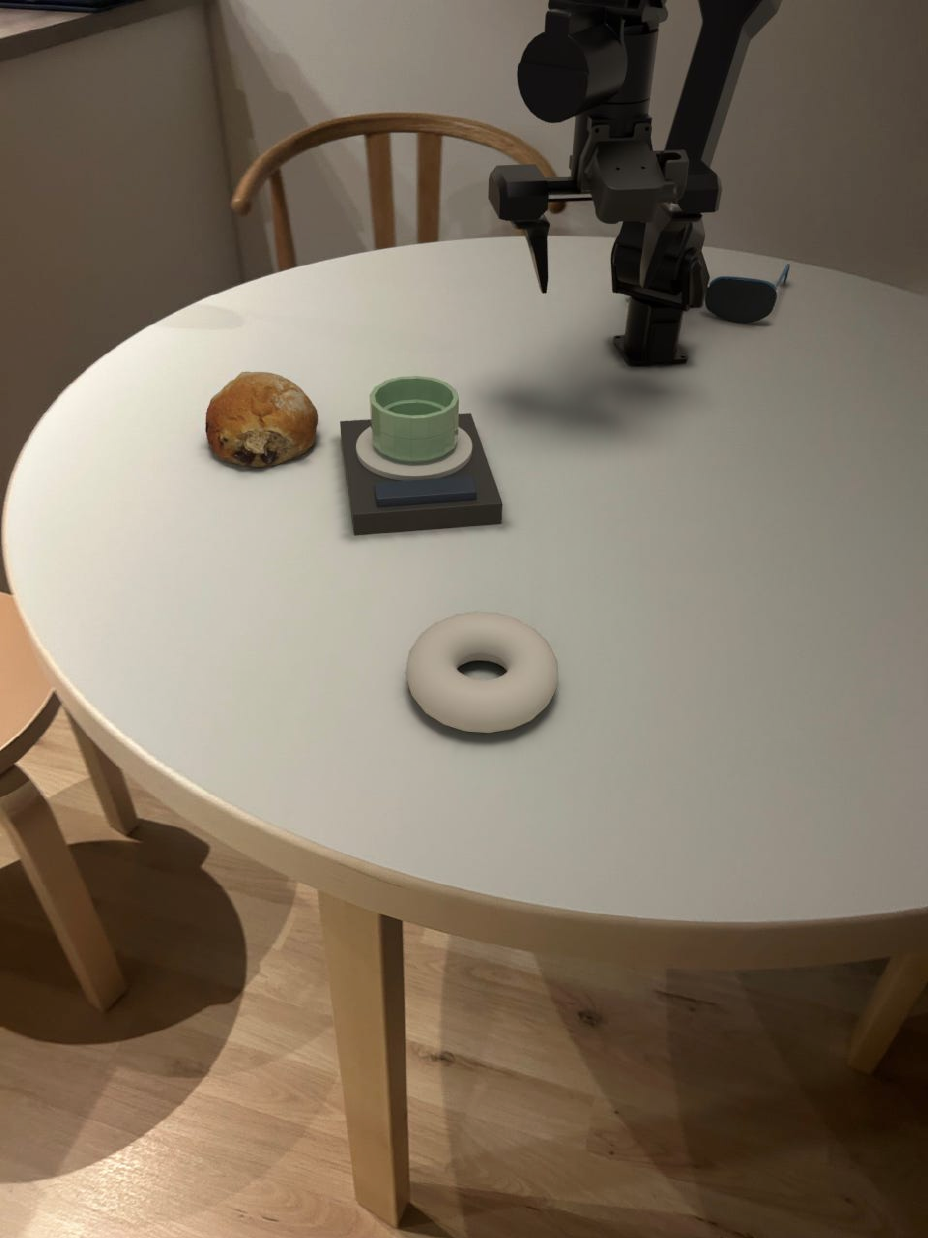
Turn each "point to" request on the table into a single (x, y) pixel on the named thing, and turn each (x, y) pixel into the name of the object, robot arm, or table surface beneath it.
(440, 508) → the scale
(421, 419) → the bowl
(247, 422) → the bread roll
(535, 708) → the donut
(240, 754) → the table surface
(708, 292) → the sunglasses
